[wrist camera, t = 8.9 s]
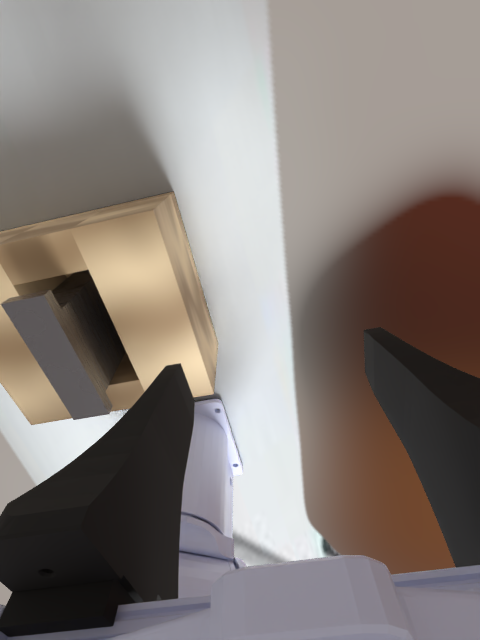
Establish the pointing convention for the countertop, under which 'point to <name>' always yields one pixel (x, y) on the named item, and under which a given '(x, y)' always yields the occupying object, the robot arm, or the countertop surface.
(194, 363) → the slotted wooden block
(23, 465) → the countertop surface
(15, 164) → the countertop surface
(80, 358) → the grey flat piece
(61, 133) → the countertop surface
